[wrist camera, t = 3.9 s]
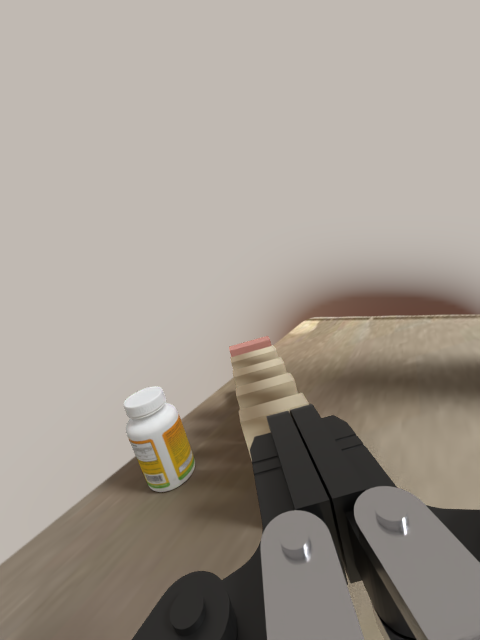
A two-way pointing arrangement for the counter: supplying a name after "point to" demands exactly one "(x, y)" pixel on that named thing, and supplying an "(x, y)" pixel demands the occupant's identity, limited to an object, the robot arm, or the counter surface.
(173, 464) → the supplement bottle
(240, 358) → the domino
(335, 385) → the counter surface
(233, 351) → the domino
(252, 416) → the domino
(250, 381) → the domino
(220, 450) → the counter surface
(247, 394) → the domino
